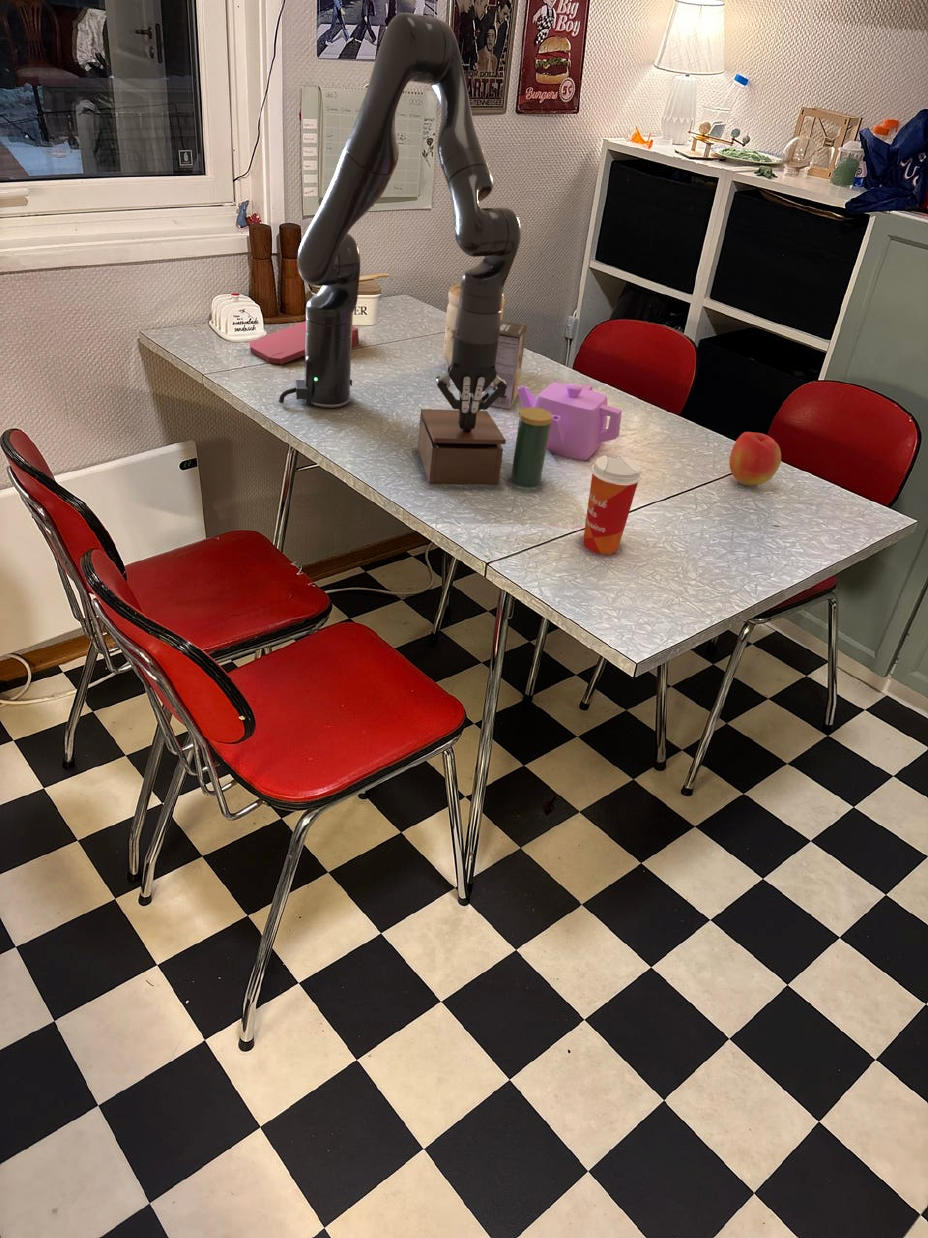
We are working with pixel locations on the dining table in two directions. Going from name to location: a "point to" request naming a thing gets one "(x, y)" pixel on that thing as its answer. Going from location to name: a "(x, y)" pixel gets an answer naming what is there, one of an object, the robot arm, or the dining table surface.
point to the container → (454, 321)
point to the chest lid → (448, 430)
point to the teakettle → (575, 418)
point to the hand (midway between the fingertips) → (465, 430)
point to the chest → (458, 461)
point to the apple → (754, 458)
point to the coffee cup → (609, 502)
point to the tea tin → (530, 446)
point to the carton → (286, 344)
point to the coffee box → (509, 361)
